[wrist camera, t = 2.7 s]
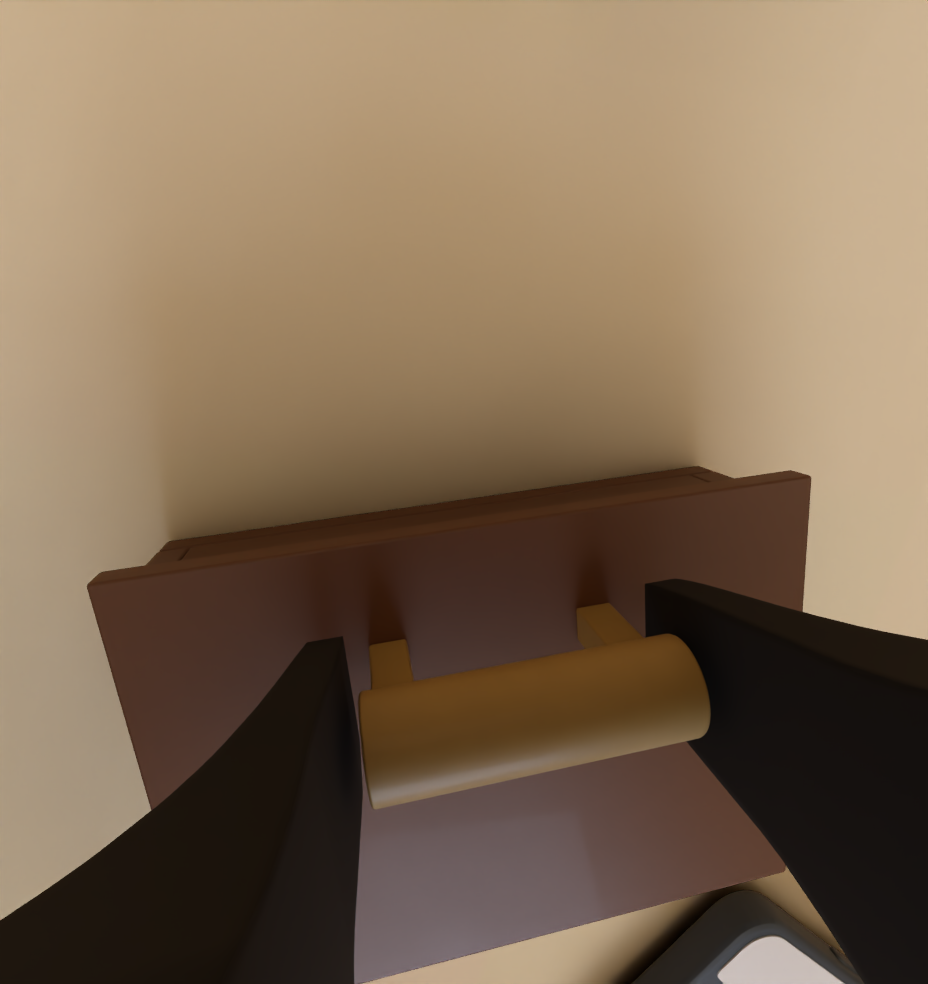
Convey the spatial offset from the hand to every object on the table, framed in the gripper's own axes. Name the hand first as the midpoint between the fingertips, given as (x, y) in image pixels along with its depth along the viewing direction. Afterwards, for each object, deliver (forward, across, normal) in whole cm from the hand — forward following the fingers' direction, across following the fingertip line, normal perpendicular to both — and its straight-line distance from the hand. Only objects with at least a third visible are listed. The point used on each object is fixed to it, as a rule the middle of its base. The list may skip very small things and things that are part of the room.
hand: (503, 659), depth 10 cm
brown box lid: (+1, 0, +3) cm, 3 cm away
